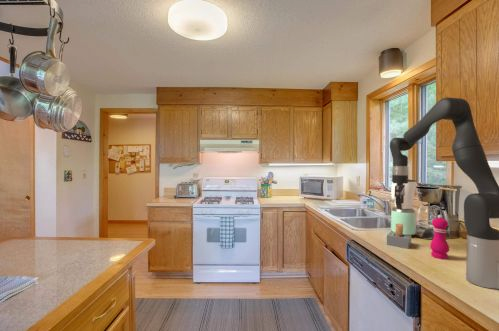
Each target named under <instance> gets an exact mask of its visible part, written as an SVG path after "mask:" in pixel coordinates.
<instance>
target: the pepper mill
mask: <svg viewBox="0 0 499 331" xmlns="http://www.w3.org/2000/svg"><path fill="white" fill-rule="evenodd" d="M431 225H432V226H433V229H432V230H433V232H434V233H433V234H434V235H433V238H432V240H431V242H430V244H429V247H430V249H431V253H430V256H431V257H433V258H436V259H438V258H439V259H440V260H447V259H449V255H448V253H449V252H450V247H449V244H448V242H447V240H446V233H447V228H448V227H449V223H448V221H447V220H446V219H445V218H443V215H441V214H438V215H437V217H436V218H434V219H432V222H431Z"/></svg>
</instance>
